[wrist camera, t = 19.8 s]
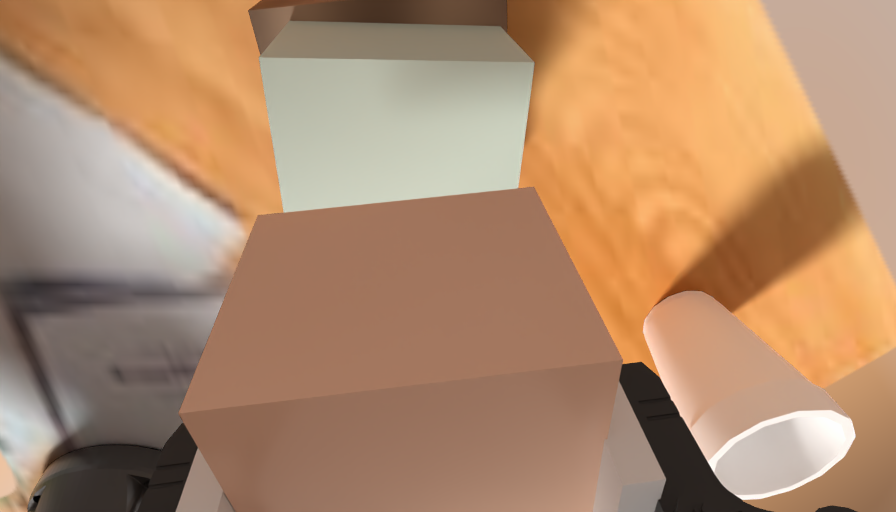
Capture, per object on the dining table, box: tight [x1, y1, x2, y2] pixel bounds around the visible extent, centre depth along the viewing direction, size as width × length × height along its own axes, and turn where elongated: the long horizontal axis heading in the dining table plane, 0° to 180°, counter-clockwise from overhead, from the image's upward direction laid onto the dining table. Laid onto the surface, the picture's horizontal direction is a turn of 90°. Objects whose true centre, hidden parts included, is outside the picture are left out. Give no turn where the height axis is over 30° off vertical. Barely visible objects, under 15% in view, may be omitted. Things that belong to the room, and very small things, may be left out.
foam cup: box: [643, 291, 856, 500], centre depth 37 cm, size 10×9×13 cm
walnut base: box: [248, 0, 507, 55], centre depth 29 cm, size 12×12×4 cm
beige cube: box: [178, 187, 623, 512], centre depth 12 cm, size 7×7×6 cm
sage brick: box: [259, 21, 535, 213], centre depth 24 cm, size 10×10×7 cm
